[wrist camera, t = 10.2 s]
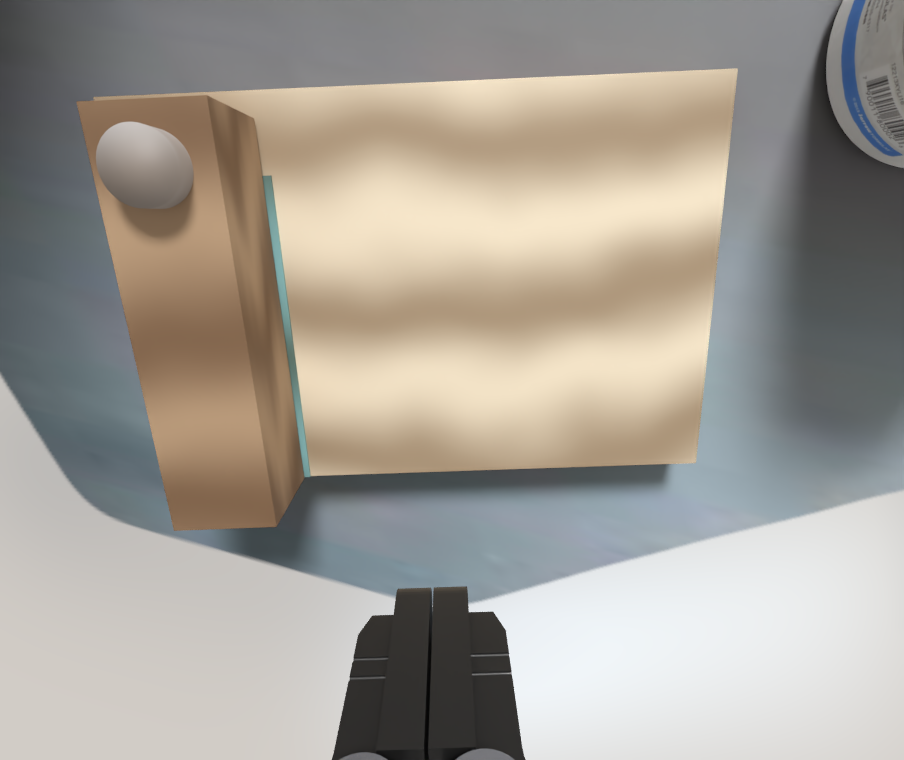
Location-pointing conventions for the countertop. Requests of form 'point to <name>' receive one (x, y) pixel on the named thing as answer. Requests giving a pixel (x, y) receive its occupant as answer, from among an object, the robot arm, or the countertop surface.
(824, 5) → the countertop surface
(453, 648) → the robot arm
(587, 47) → the countertop surface
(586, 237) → the light wooden board
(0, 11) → the countertop surface
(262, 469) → the stool leg
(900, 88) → the supplement tub
